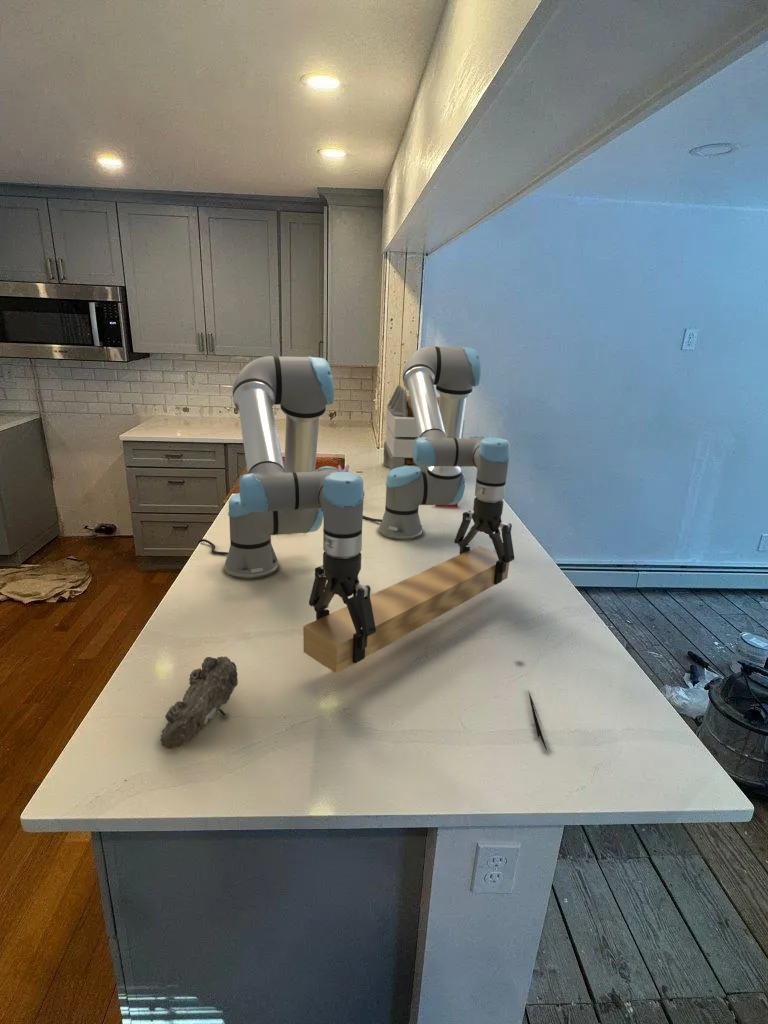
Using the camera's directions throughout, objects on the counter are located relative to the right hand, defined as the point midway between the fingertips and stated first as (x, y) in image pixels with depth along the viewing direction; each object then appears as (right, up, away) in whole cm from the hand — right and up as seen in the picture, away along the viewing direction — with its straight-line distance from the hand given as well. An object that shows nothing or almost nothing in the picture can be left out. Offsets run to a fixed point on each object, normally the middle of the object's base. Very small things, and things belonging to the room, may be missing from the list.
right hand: (480, 576), depth 154 cm
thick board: (-18, -6, -18) cm, 26 cm away
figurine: (-42, +22, +77) cm, 90 cm away
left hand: (-35, -11, -36) cm, 51 cm away
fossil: (-60, -21, -45) cm, 78 cm away
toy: (-2, +24, +88) cm, 91 cm away
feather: (+4, -22, -38) cm, 44 cm away
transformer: (-9, +36, +121) cm, 127 cm away
